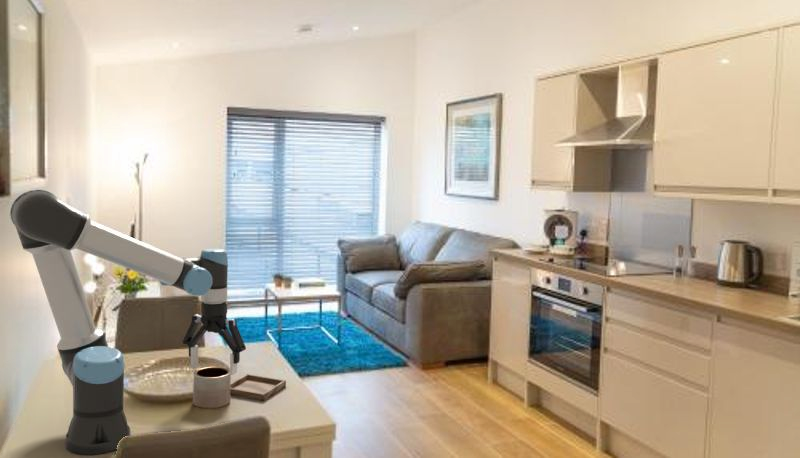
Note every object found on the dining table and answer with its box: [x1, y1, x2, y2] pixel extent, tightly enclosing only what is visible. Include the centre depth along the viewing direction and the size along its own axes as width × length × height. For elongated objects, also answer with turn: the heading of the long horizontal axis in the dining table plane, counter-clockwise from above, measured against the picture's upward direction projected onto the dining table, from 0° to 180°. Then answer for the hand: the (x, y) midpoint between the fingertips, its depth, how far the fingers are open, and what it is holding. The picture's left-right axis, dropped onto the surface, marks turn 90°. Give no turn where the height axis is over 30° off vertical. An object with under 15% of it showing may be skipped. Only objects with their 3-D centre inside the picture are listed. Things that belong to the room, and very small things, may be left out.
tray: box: [230, 373, 287, 402], centre depth 210 cm, size 14×14×2 cm
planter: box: [192, 366, 232, 410], centre depth 197 cm, size 11×11×10 cm
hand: (213, 370), depth 197 cm, fingers open, 13 cm apart
